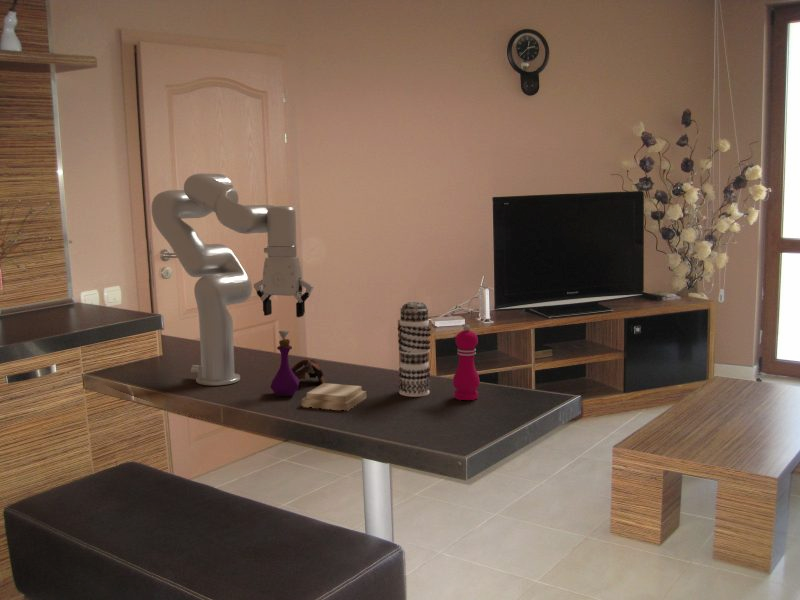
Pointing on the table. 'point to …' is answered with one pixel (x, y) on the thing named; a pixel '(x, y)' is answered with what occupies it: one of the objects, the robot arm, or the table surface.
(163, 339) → the table surface
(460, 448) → the table surface
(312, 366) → the pottery mug
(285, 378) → the perfume bottle
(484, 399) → the table surface
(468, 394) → the pepper mill
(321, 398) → the plinth
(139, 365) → the table surface
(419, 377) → the decorative candle
